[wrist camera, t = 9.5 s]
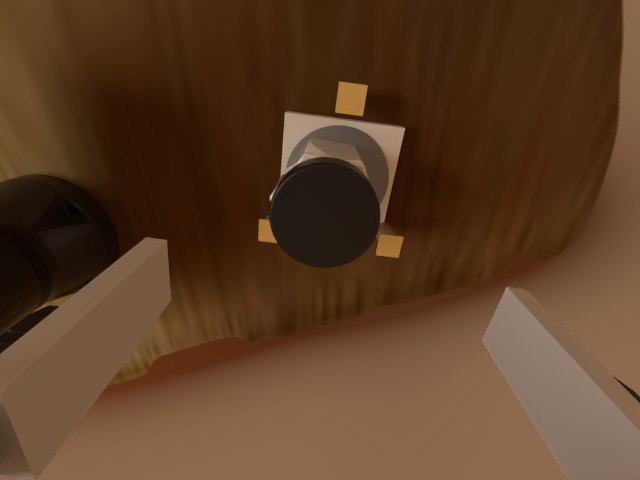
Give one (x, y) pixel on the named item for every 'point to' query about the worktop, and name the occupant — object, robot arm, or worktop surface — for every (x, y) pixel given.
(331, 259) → the jar
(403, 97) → the worktop surface
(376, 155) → the cradle board
